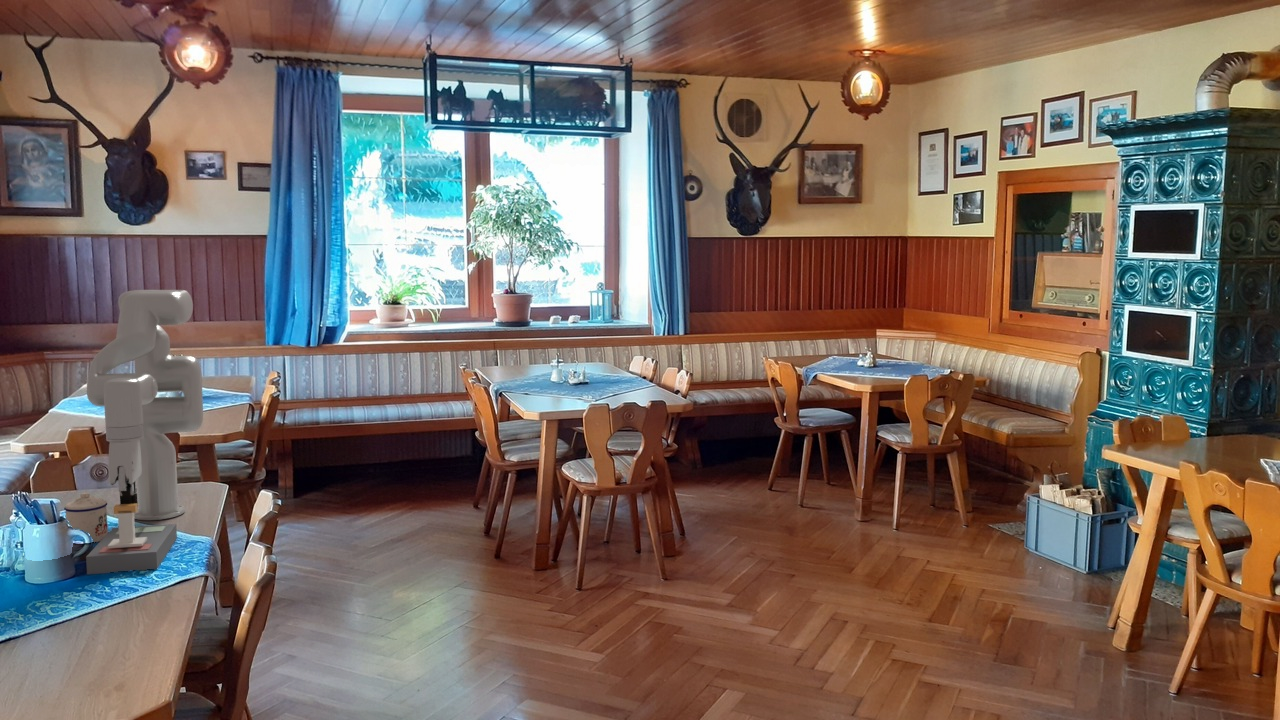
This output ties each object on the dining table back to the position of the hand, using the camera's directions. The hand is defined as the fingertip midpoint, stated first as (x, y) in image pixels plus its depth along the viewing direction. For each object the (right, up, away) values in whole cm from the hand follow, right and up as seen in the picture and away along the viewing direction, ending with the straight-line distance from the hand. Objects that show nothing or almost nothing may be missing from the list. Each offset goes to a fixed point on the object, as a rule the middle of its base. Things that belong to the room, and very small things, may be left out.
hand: (129, 511), depth 217 cm
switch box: (-1, -11, +4) cm, 12 cm away
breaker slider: (+1, -7, -2) cm, 7 cm away
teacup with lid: (-19, -9, +17) cm, 27 cm away
